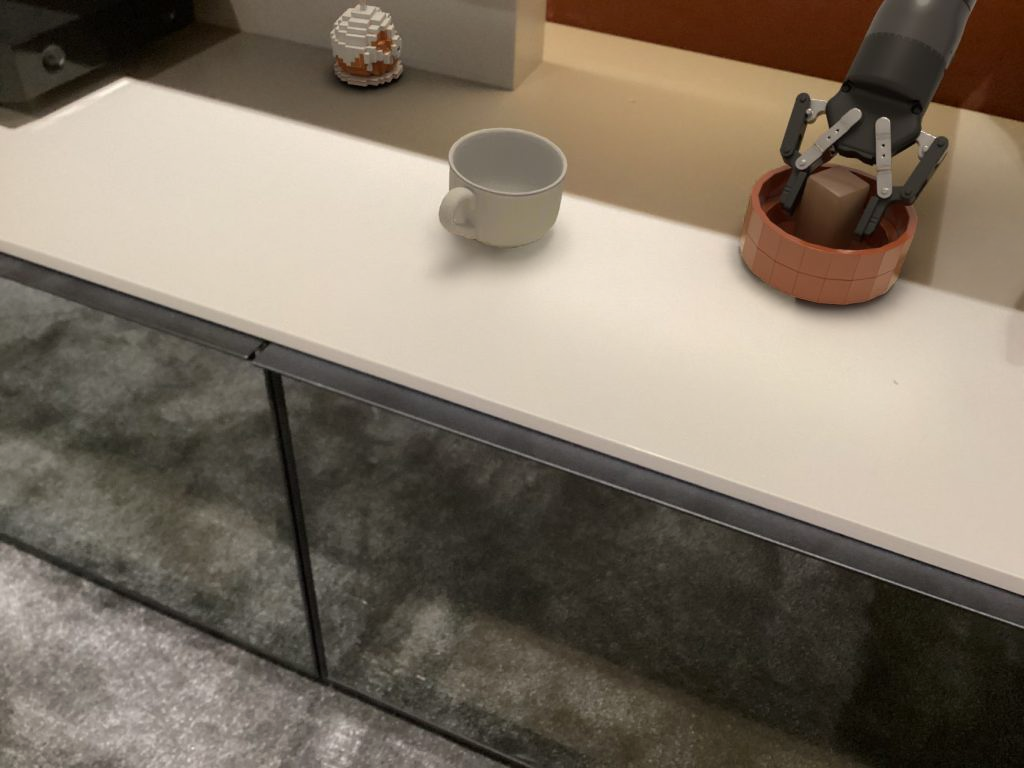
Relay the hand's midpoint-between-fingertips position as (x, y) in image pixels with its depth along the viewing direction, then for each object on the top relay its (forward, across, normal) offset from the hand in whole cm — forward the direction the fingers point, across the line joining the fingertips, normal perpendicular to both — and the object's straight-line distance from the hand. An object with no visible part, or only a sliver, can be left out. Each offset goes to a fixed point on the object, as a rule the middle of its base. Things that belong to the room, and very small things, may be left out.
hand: (821, 225), depth 86 cm
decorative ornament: (0, -57, +7) cm, 57 cm away
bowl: (+2, 0, +5) cm, 5 cm away
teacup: (+13, -26, -6) cm, 30 cm away
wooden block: (+2, 0, +4) cm, 5 cm away
